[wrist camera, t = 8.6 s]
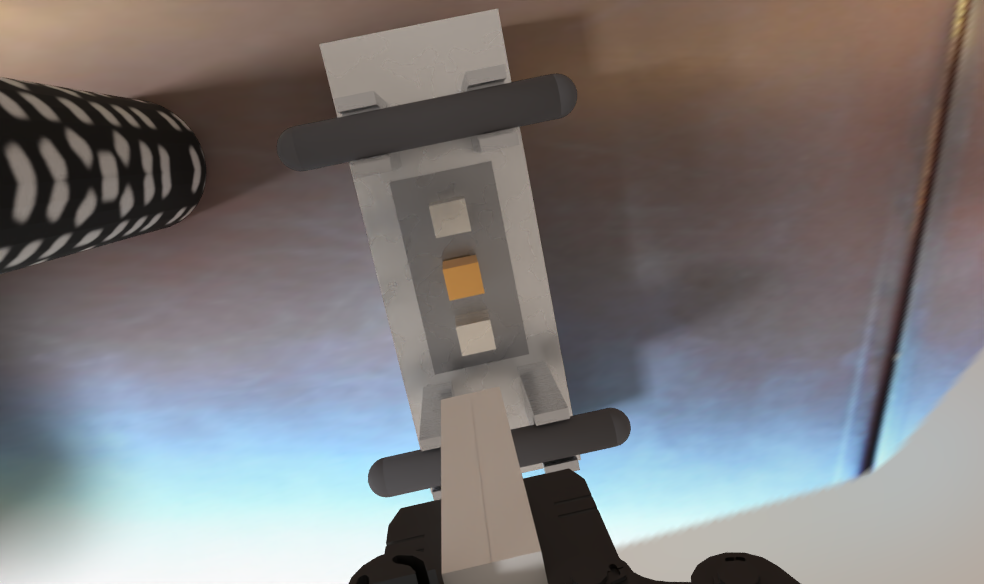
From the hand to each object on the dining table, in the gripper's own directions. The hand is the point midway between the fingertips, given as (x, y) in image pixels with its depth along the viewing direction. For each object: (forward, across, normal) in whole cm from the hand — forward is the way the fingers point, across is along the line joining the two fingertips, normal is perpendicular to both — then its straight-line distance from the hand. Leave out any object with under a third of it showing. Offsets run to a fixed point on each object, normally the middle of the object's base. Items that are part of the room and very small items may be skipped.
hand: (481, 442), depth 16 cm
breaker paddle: (+22, 0, 0) cm, 22 cm away
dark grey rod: (+16, 0, +8) cm, 18 cm away
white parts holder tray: (+28, 0, 0) cm, 28 cm away
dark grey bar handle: (+16, 0, -8) cm, 18 cm away
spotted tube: (+29, -19, +10) cm, 36 cm away
